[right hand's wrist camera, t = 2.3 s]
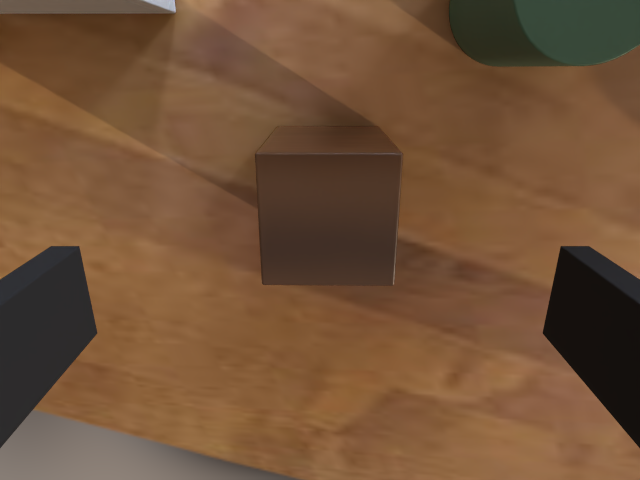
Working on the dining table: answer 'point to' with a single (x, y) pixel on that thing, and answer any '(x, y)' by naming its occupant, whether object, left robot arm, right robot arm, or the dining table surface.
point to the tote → (87, 7)
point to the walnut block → (328, 205)
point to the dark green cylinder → (545, 31)
